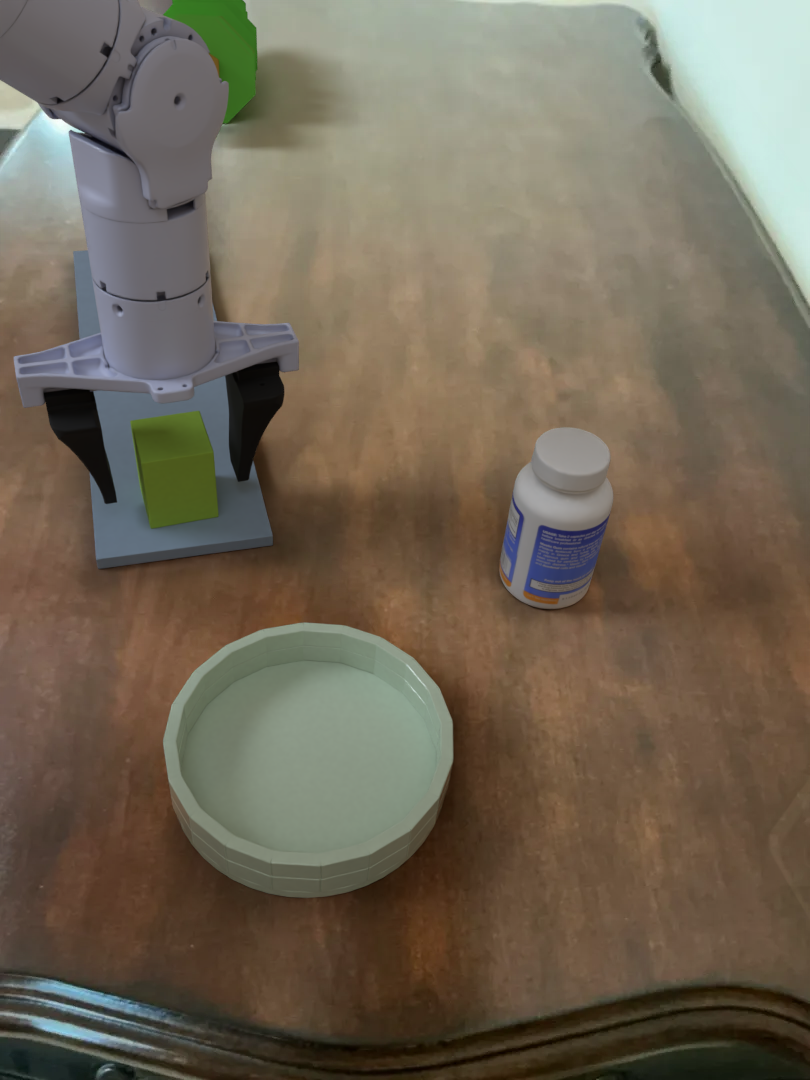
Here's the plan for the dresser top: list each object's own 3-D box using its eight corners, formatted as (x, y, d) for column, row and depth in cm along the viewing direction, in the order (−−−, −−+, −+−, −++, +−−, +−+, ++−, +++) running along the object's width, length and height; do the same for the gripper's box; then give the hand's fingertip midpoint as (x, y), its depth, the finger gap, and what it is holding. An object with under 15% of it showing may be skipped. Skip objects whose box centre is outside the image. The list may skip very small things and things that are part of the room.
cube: (150, 529, 57) (141, 463, 53) (139, 485, 59) (129, 420, 56) (218, 517, 58) (213, 451, 54) (205, 475, 60) (199, 410, 57)
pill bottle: (606, 580, 58) (647, 452, 51) (552, 627, 55) (587, 498, 48) (534, 533, 60) (563, 405, 53) (478, 576, 57) (502, 446, 50)
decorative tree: (159, 13, 88) (182, -81, 109) (125, 128, 95) (152, 19, 116) (277, 69, 92) (278, -32, 113) (235, 174, 99) (243, 61, 120)
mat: (273, 545, 58) (272, 535, 57) (98, 569, 55) (96, 559, 55) (198, 252, 82) (197, 243, 81) (74, 259, 80) (73, 250, 79)
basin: (116, 836, 44) (106, 801, 41) (246, 630, 53) (244, 592, 51) (392, 943, 41) (397, 910, 39) (479, 706, 50) (486, 670, 48)
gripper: (1, 333, 43) (54, 550, 53) (316, 296, 47) (313, 503, 57) (-9, 256, 48) (42, 468, 57) (279, 230, 52) (282, 431, 61)
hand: (175, 481), depth 57 cm, fingers open, 7 cm apart
